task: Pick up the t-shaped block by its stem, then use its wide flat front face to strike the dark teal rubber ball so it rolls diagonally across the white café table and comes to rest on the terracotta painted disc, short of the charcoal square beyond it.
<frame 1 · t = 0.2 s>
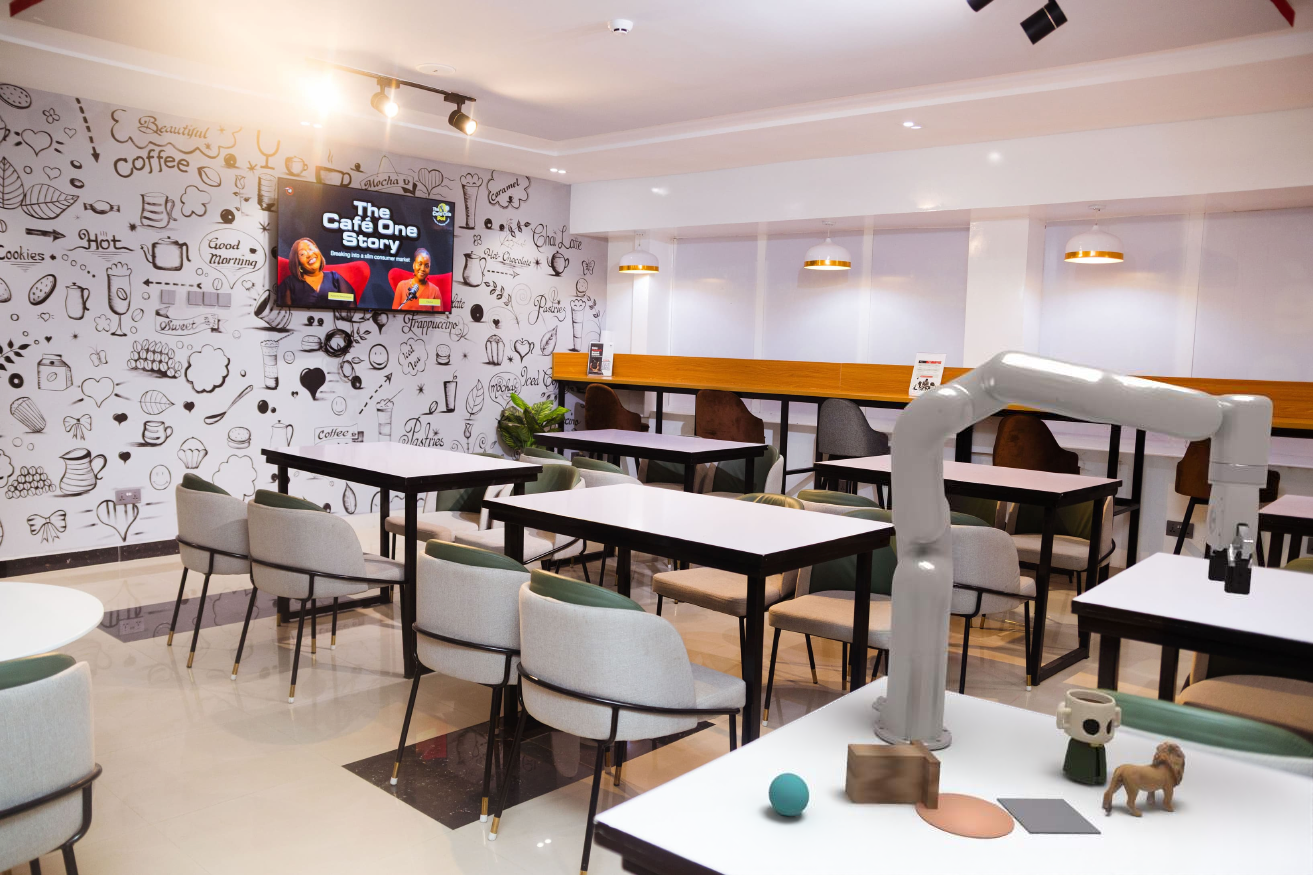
hand: (1227, 586, 141), 31 cm above the table, tool pointing down, fingers open, 9 cm apart
t-shaped block: (883, 797, 133), on the table
character mug: (1084, 779, 143), on the table
lion figurine: (1141, 808, 134), on the table
ball: (788, 794, 126), on the table
far square: (1047, 815, 129), on the table
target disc: (964, 815, 128), on the table
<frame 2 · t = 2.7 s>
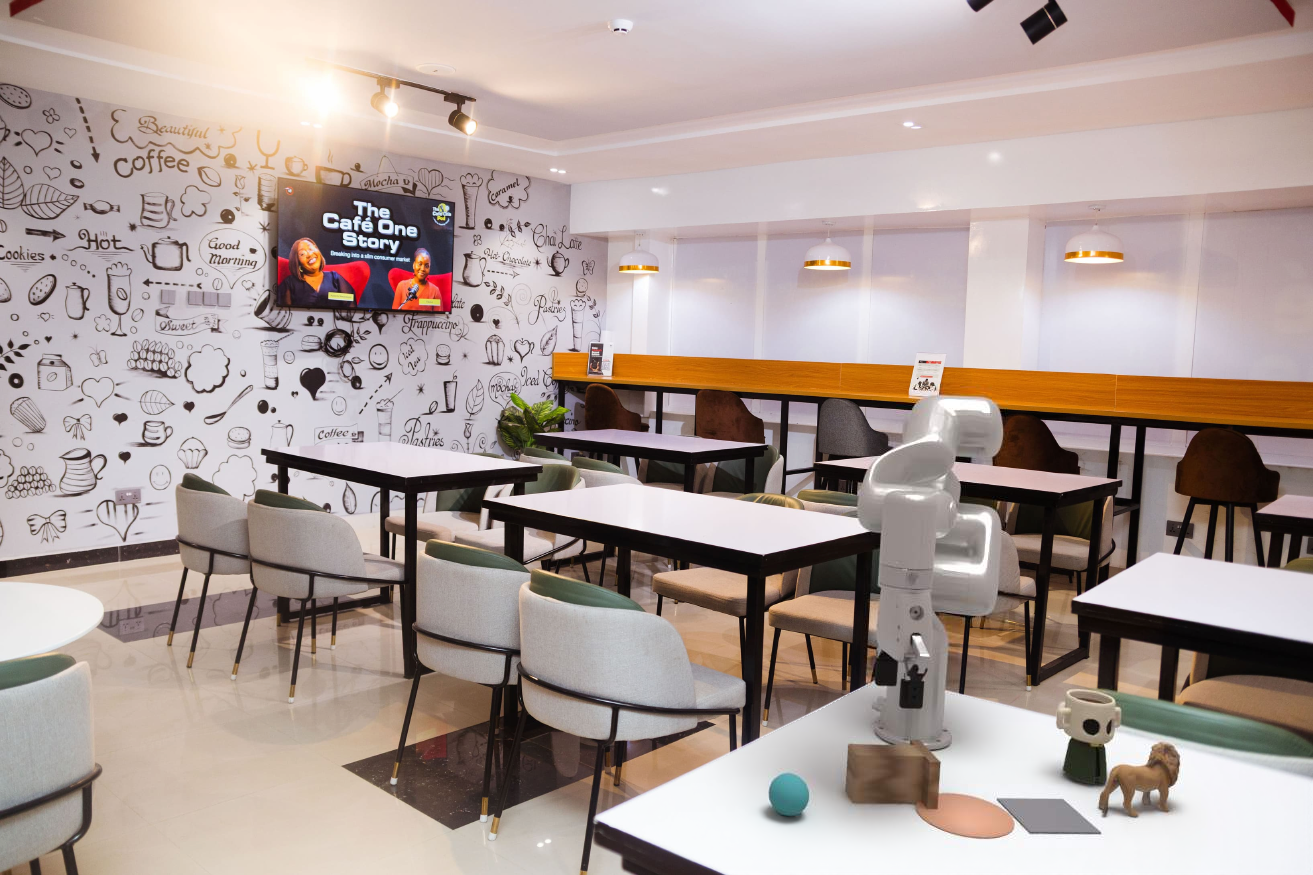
hand: (897, 696, 132), 15 cm above the table, tool pointing down, fingers open, 9 cm apart
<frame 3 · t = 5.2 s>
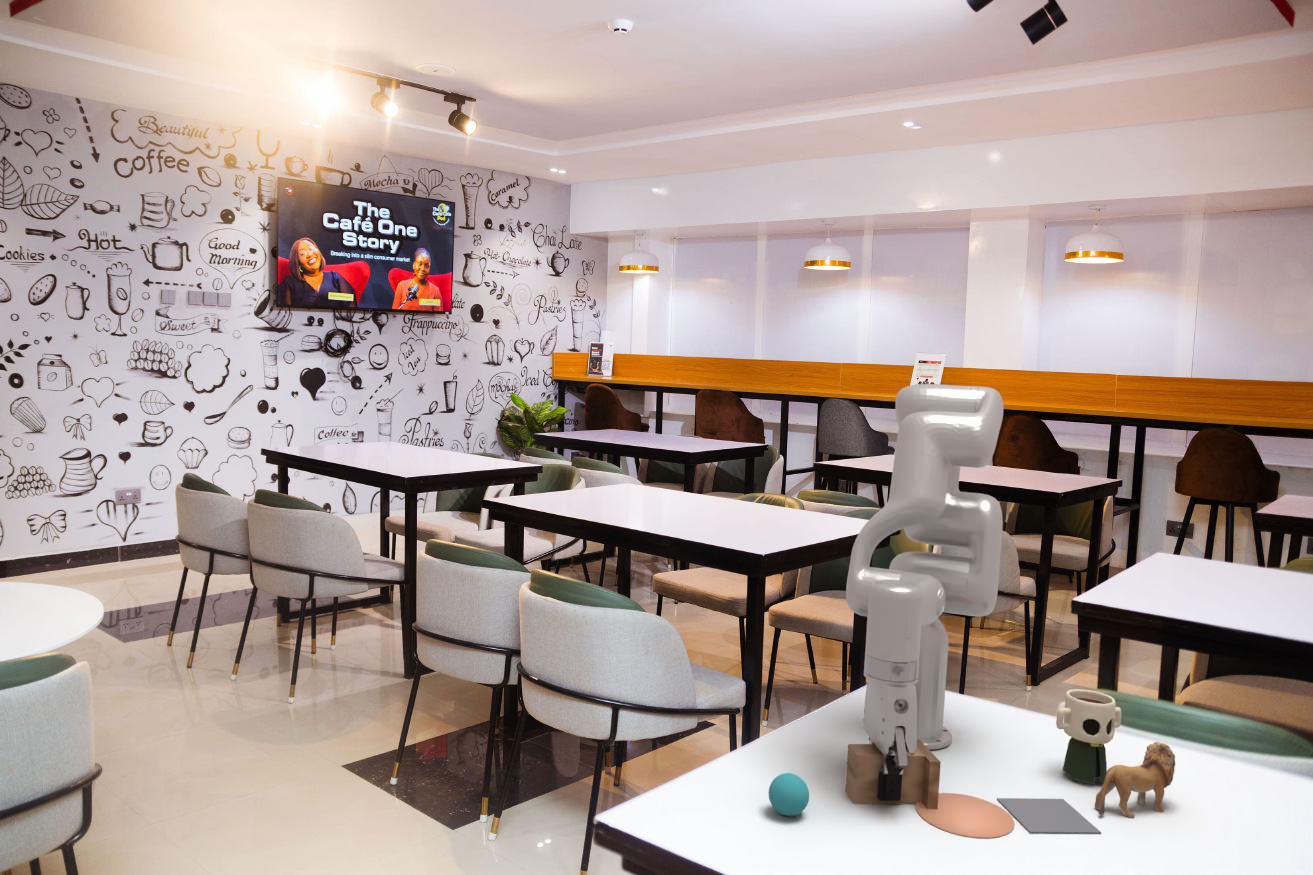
hand: (883, 790, 133), 1 cm above the table, tool pointing down, fingers closed on t-shaped block, 4 cm apart
t-shaped block: (883, 797, 133), on the table, touching gripper
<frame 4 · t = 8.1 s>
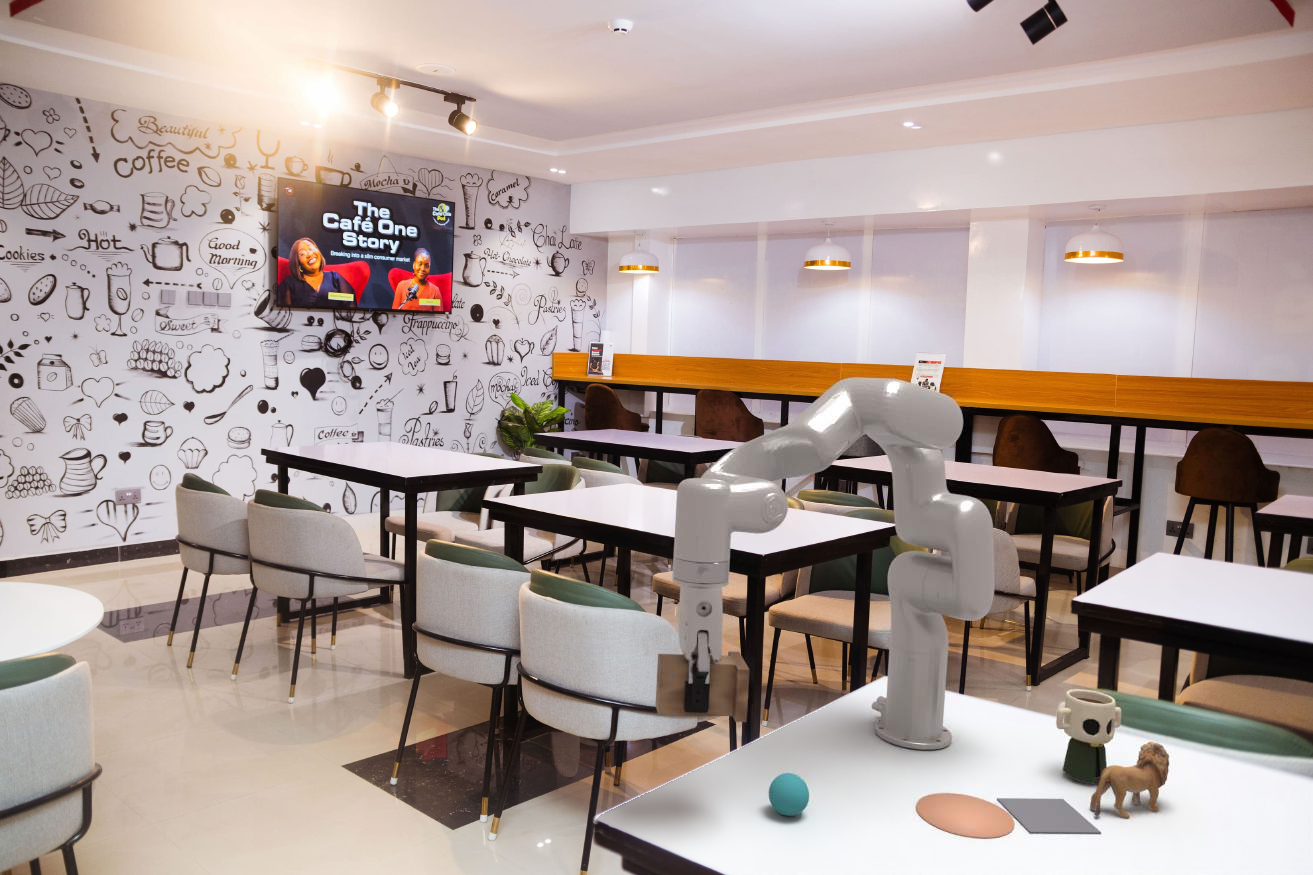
hand: (693, 703, 124), 15 cm above the table, tool pointing down, fingers closed on t-shaped block, 4 cm apart
t-shaped block: (693, 710, 124), point 14 cm above the table, touching gripper
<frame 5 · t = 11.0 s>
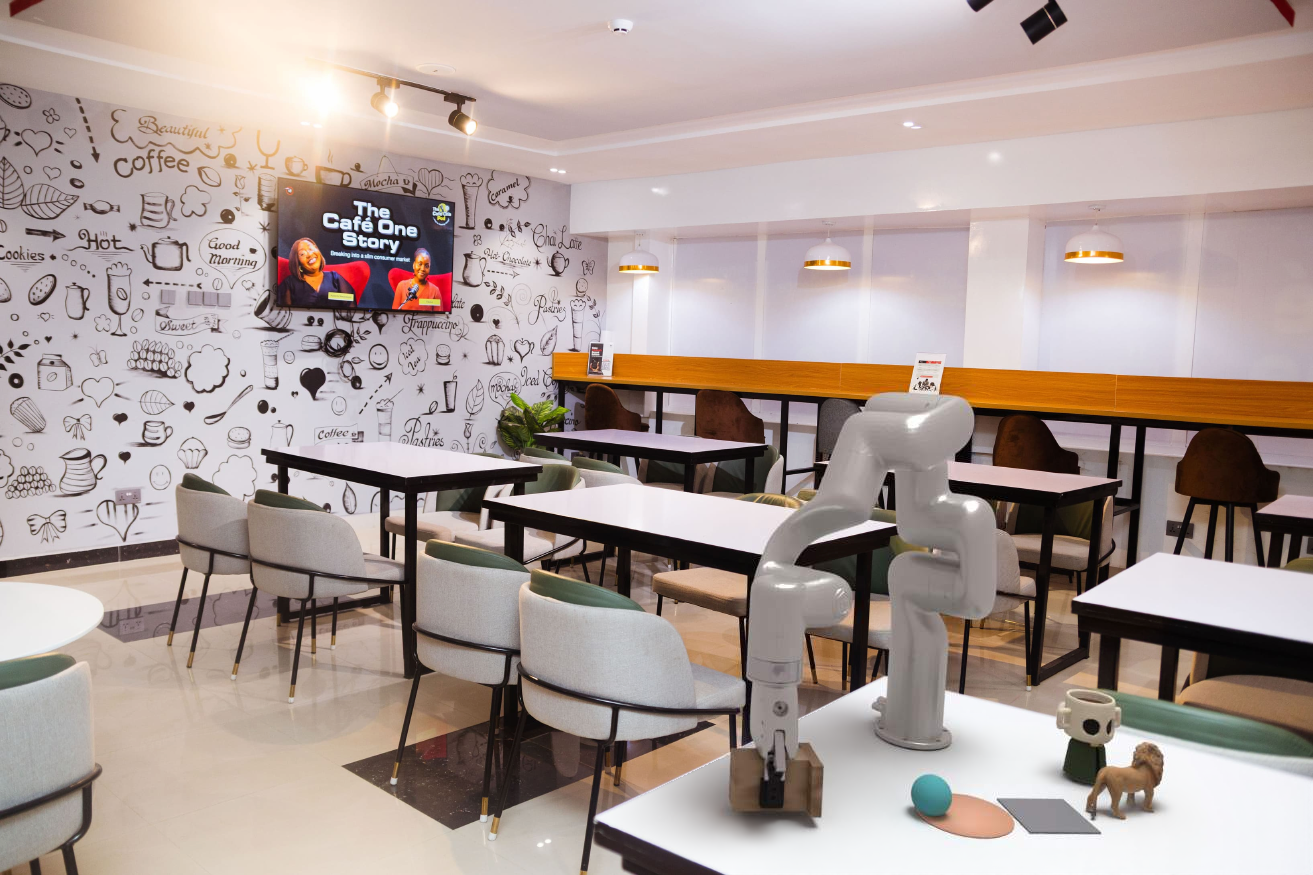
hand: (767, 797, 126), 2 cm above the table, tool pointing down, fingers closed on t-shaped block, 4 cm apart
t-shaped block: (767, 803, 126), point 1 cm above the table, touching gripper
ball: (931, 795, 128), on the table
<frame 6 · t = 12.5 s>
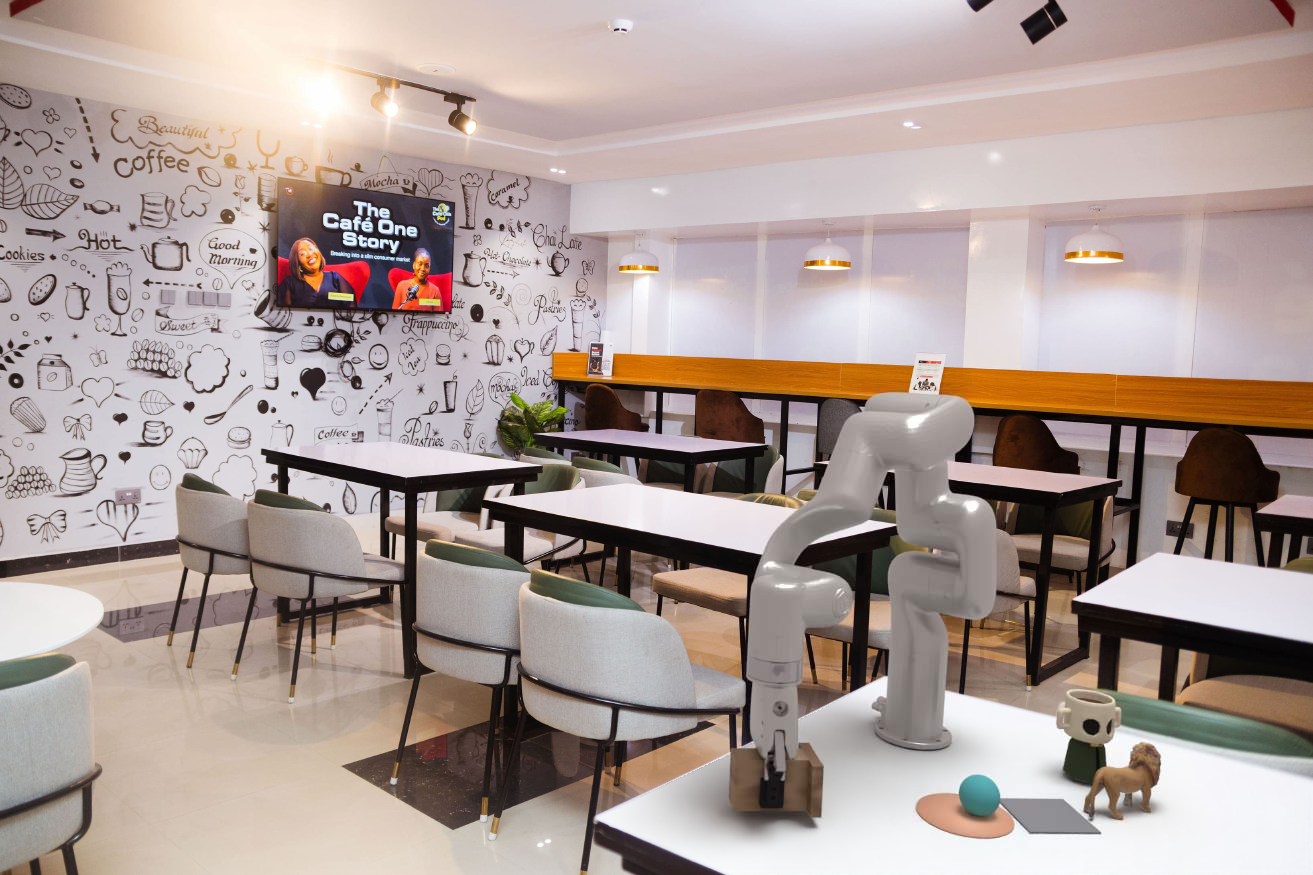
hand: (767, 797, 126), 2 cm above the table, tool pointing down, fingers closed on t-shaped block, 4 cm apart
t-shaped block: (767, 803, 126), point 1 cm above the table, touching gripper
ball: (979, 795, 129), on the table
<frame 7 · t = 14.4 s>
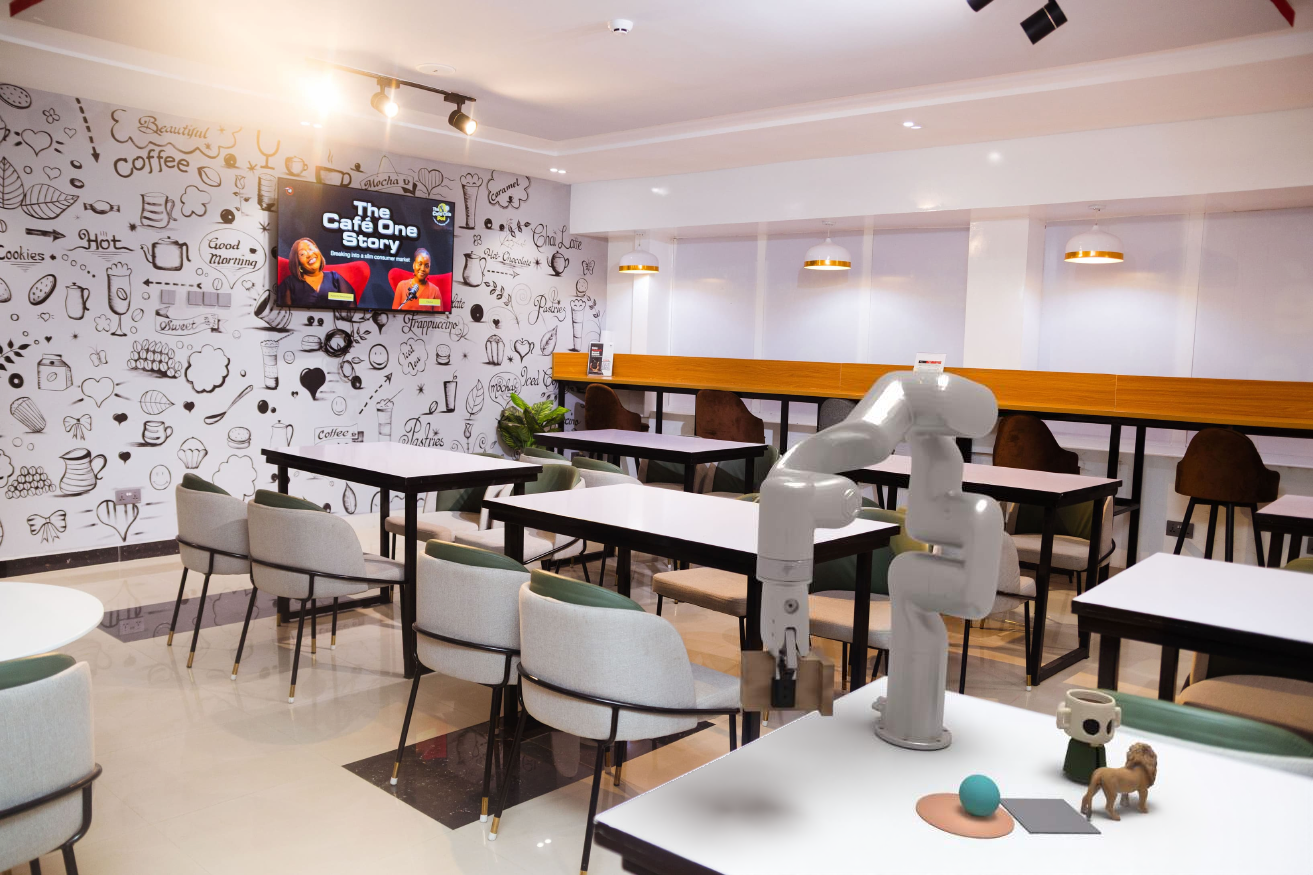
hand: (778, 699, 126), 16 cm above the table, tool pointing down, fingers closed on t-shaped block, 4 cm apart
t-shaped block: (778, 705, 126), point 15 cm above the table, touching gripper
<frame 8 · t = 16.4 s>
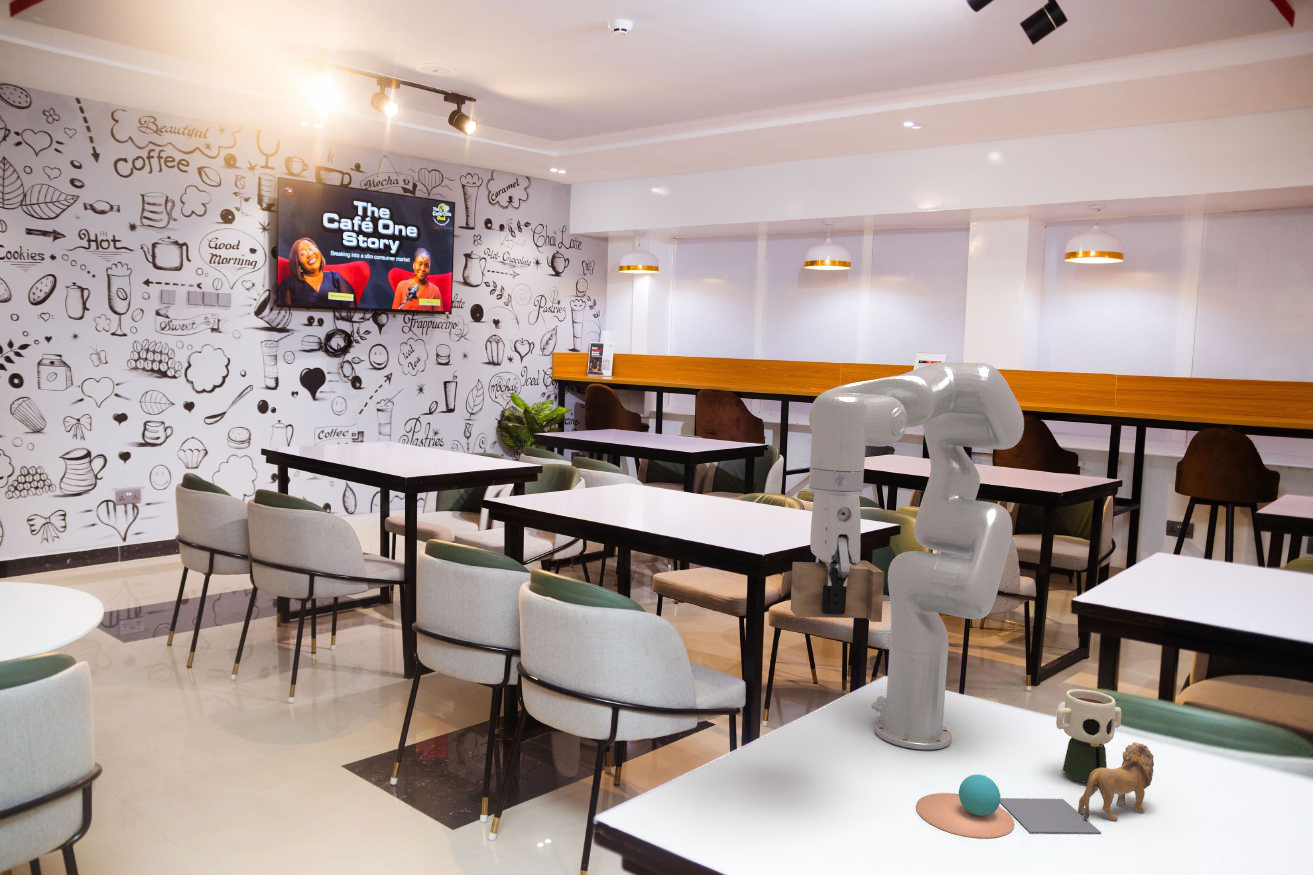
hand: (828, 608, 131), 27 cm above the table, tool pointing down, fingers closed on t-shaped block, 4 cm apart
t-shaped block: (828, 613, 132), point 26 cm above the table, touching gripper
at the end: ball 2.1 cm from the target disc (horizontally); ball at rest at the end (0.0 cm/s); ball moved 27.1 cm from its start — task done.
